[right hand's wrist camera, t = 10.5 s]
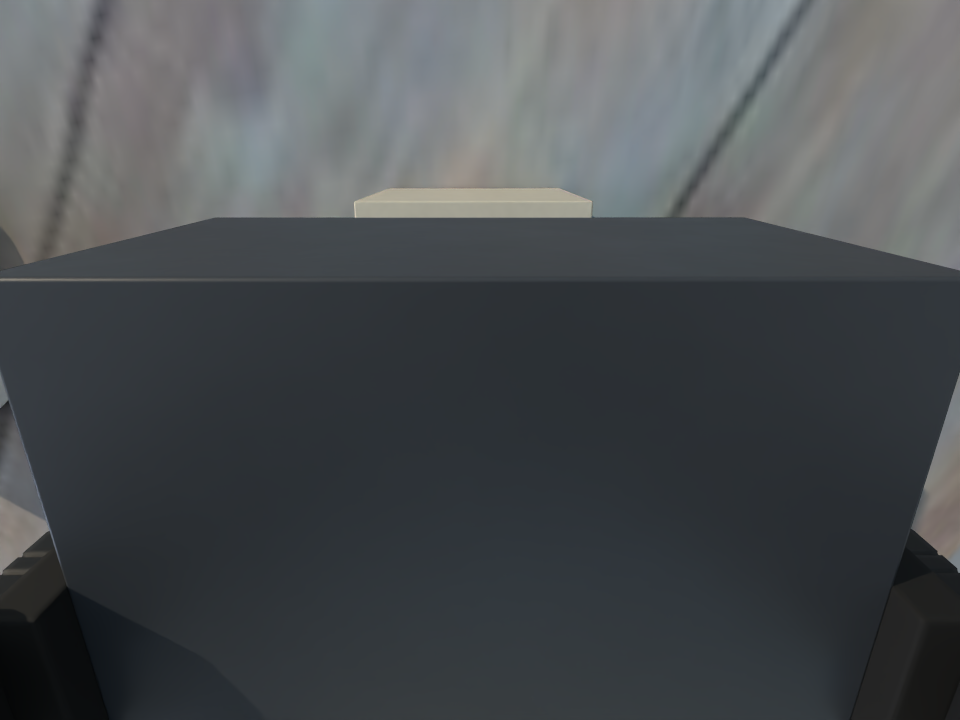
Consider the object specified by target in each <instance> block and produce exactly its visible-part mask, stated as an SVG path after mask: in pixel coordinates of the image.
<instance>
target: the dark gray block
mask: <svg viewBox="0 0 960 720" xmlns="http://www.w3.org/2000/svg"><path fill="white" fill-rule="evenodd" d="M959 373H960V271H959V270H955V269H951V268H947V267H943V266H939V265H935V264H931V263H927V262H923V261H918V260H914V259H910V258H906V257H902V256H898V255H894V254H890V253H886V252H882V251H878V250H874V249H870V248H866V247H862V246H858V245H854V244H849V243H845V242H841V241H837V240H833V239H829V238H825V237H821V236H817V235H813V234H809V233H805V232H801V231H797V230H793V229H789V228H785V227H780V226H776V225H772V224H768V223H764V222H760V221H756V220H752V219H748V218H212V219H208V220H204V221H200V222H196V223H192V224H188V225H184V226H180V227H176V228H172V229H168V230H163V231H159V232H155V233H151V234H147V235H143V236H139V237H135V238H131V239H127V240H123V241H119V242H115V243H111V244H107V245H103V246H99V247H95V248H90V249H86V250H82V251H78V252H74V253H70V254H66V255H62V256H58V257H54V258H50V259H46V260H42V261H38V262H34V263H30V264H26V265H22V266H17V267H13V268H9V269H5V270H1V271H0V375H1V378H2V381H3V384H4V387H5V391H6V394H7V397H8V400H9V403H10V407H11V410H12V413H13V416H14V419H15V423H16V426H17V429H18V432H19V435H20V438H21V442H22V445H23V448H24V451H25V454H26V458H27V461H28V464H29V467H30V470H31V473H32V477H33V480H34V483H35V486H36V489H37V493H38V496H39V499H40V502H41V505H42V509H43V512H44V515H45V518H46V521H47V524H48V528H49V531H50V534H51V537H52V540H53V544H54V547H55V550H56V553H57V556H58V559H59V563H60V566H61V569H62V572H63V575H64V579H65V582H66V585H67V587H68V590H69V593H70V596H71V599H72V603H73V606H74V609H75V612H76V615H77V619H78V622H79V625H80V628H81V631H82V635H83V638H84V641H85V644H86V647H87V651H88V654H89V657H90V660H91V663H92V666H93V670H94V673H95V676H96V679H97V682H98V686H99V689H100V692H101V695H102V698H103V702H104V705H105V708H106V711H107V714H108V718H109V720H851V716H852V713H853V710H854V707H855V704H856V700H857V697H858V694H859V691H860V688H861V685H862V681H863V678H864V675H865V672H866V669H867V665H868V662H869V659H870V656H871V653H872V649H873V646H874V643H875V640H876V637H877V633H878V630H879V627H880V624H881V621H882V617H883V614H884V611H885V608H886V605H887V601H888V598H889V595H890V592H891V589H892V586H893V583H894V580H895V577H896V574H897V571H898V568H899V564H900V561H901V558H902V555H903V552H904V548H905V545H906V542H907V539H908V536H909V532H910V529H911V526H912V523H913V520H914V516H915V513H916V510H917V507H918V504H919V500H920V497H921V494H922V491H923V488H924V484H925V481H926V478H927V475H928V472H929V468H930V465H931V462H932V459H933V456H934V452H935V449H936V446H937V443H938V440H939V436H940V433H941V430H942V427H943V424H944V421H945V417H946V414H947V411H948V408H949V405H950V401H951V398H952V395H953V392H954V389H955V385H956V382H957V379H958V376H959Z"/></svg>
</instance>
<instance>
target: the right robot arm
mask: <svg viewBox="0 0 960 720" xmlns="http://www.w3.org/2000/svg"><path fill="white" fill-rule="evenodd" d="M0 720H109V718H108V714H107V711H106V708H105V705H104V702H103V698H102V695H101V692H100V689H99V686H98V682H97V679H96V676H95V673H94V670H93V666H92V663H91V660H90V657H89V654H88V651H87V647H86V644H85V641H84V638H83V635H82V631H81V628H80V625H79V622H78V619H77V615H76V612H75V609H74V606H73V603H72V599H71V596H70V593H69V590H68V587H67V585H66V582H65V579H64V575H63V572H62V569H61V566H60V563H59V559H58V556H57V553H56V550H55V547H54V544H53V540H52V537H51V534H50V531H48V532H47V533H45V534H44V535H43V536H42V537H41V538H40V539H39V540H37V541H36V542H35V543H34V544H33V545H32V546H31V547H29V548H28V549H27V550H26V551H25V552H24V553H23V556H22V557H18V558H17V559H16V560H15V561H13V562H12V563H11V564H10V565H9V566H8V567H7V568H5V569H4V570H3V574H2V575H0ZM851 720H960V573H958V571H957V568H956V567H955V566H954V565H953V564H952V563H950V562H949V561H948V560H947V559H946V558H945V557H944V556H942V555H938V553H937V550H935V549H934V548H933V547H932V546H931V545H930V544H929V543H927V542H926V541H925V540H924V539H923V538H922V537H921V536H919V535H918V534H917V533H916V532H915V531H914V530H912V529H910V532H909V536H908V539H907V542H906V545H905V548H904V552H903V555H902V558H901V561H900V564H899V568H898V571H897V574H896V577H895V580H894V583H893V586H892V589H891V592H890V595H889V598H888V601H887V605H886V608H885V611H884V614H883V617H882V621H881V624H880V627H879V630H878V633H877V637H876V640H875V643H874V646H873V649H872V653H871V656H870V659H869V662H868V665H867V669H866V672H865V675H864V678H863V681H862V685H861V688H860V691H859V694H858V697H857V700H856V704H855V707H854V710H853V713H852V716H851Z"/></svg>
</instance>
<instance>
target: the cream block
mask: <svg viewBox="0 0 960 720" xmlns="http://www.w3.org/2000/svg"><path fill="white" fill-rule="evenodd" d="M354 207H355V218H592V208H593V201H590V200H588V199H585V198H583V197H580V196H578V195H575V194H572V193H570V192H567V191H565V190H562V189H560V188H389V189H386V190H384V191H381V192H379V193H376V194H373V195H371V196H368V197H365V198H363V199H360V200H357V201H355V202H354Z"/></svg>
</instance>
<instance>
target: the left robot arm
mask: <svg viewBox="0 0 960 720" xmlns="http://www.w3.org/2000/svg"><path fill="white" fill-rule="evenodd" d="M7 401H8V397H7V394H6V391H5V387H4V384H3V381H2V378H1V375H0V408H1V407H2V406H3V405H4V404H5V403H6V402H7Z"/></svg>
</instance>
